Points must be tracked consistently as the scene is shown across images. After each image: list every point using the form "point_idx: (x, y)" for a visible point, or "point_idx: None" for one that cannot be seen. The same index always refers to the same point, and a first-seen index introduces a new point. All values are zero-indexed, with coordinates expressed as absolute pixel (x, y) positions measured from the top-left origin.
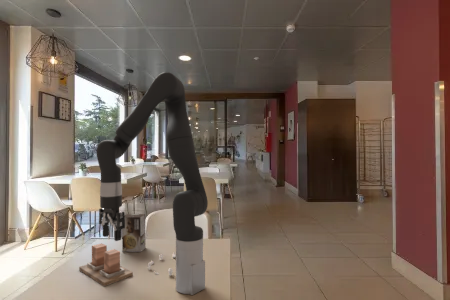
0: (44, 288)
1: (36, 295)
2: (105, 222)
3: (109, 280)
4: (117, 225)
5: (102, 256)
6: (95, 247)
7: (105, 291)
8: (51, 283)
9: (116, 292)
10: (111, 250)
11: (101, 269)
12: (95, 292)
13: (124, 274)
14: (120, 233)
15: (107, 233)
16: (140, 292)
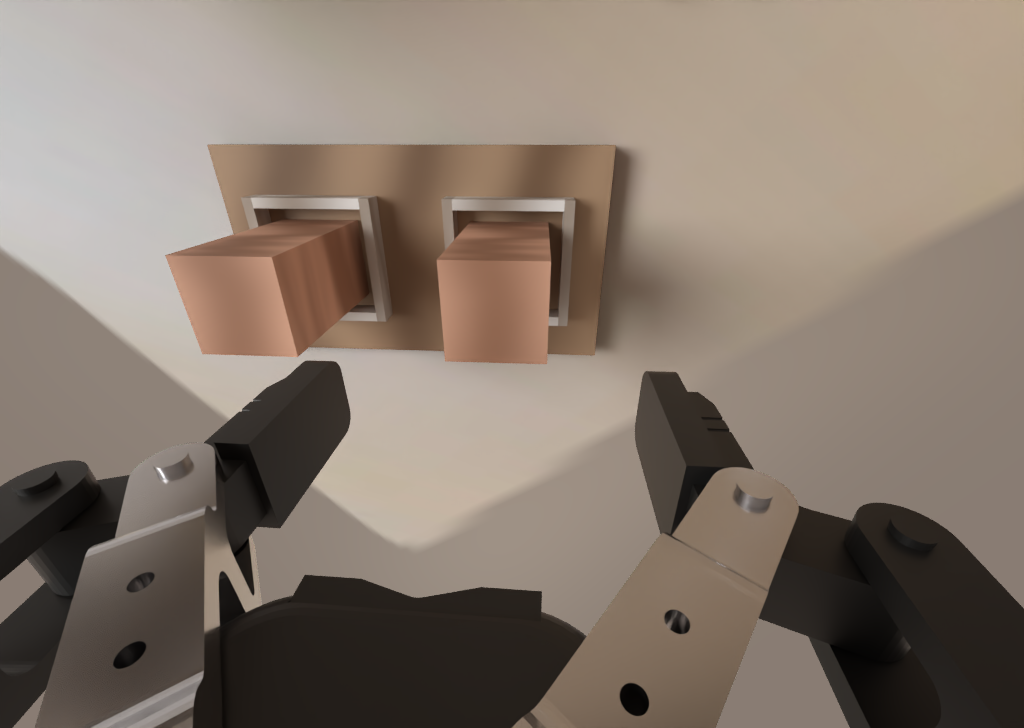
0: (399, 502)
1: (443, 533)
2: (253, 597)
3: (594, 323)
4: (867, 700)
5: (328, 273)
6: (270, 353)
7: (650, 368)
8: (367, 472)
9: (712, 340)
10: (457, 300)
11: (399, 276)
12: (616, 401)
13: (596, 213)
14: (735, 454)
15: (325, 395)
16: (848, 255)
